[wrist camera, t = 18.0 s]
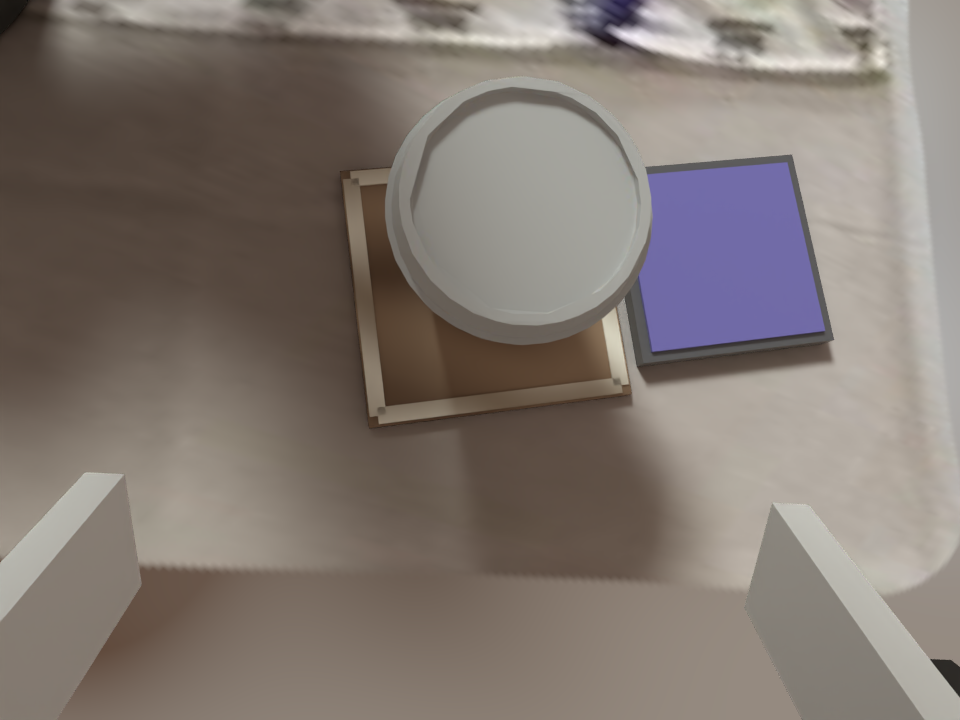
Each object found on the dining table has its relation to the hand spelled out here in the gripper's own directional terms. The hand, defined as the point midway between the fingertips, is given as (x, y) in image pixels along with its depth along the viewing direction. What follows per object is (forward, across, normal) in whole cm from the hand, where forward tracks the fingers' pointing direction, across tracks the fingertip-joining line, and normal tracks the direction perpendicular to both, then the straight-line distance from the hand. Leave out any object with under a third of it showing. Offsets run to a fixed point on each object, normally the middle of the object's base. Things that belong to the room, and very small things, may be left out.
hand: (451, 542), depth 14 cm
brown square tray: (+23, +1, -1) cm, 23 cm away
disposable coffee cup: (+22, +1, -1) cm, 23 cm away
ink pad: (+25, +14, 0) cm, 28 cm away
